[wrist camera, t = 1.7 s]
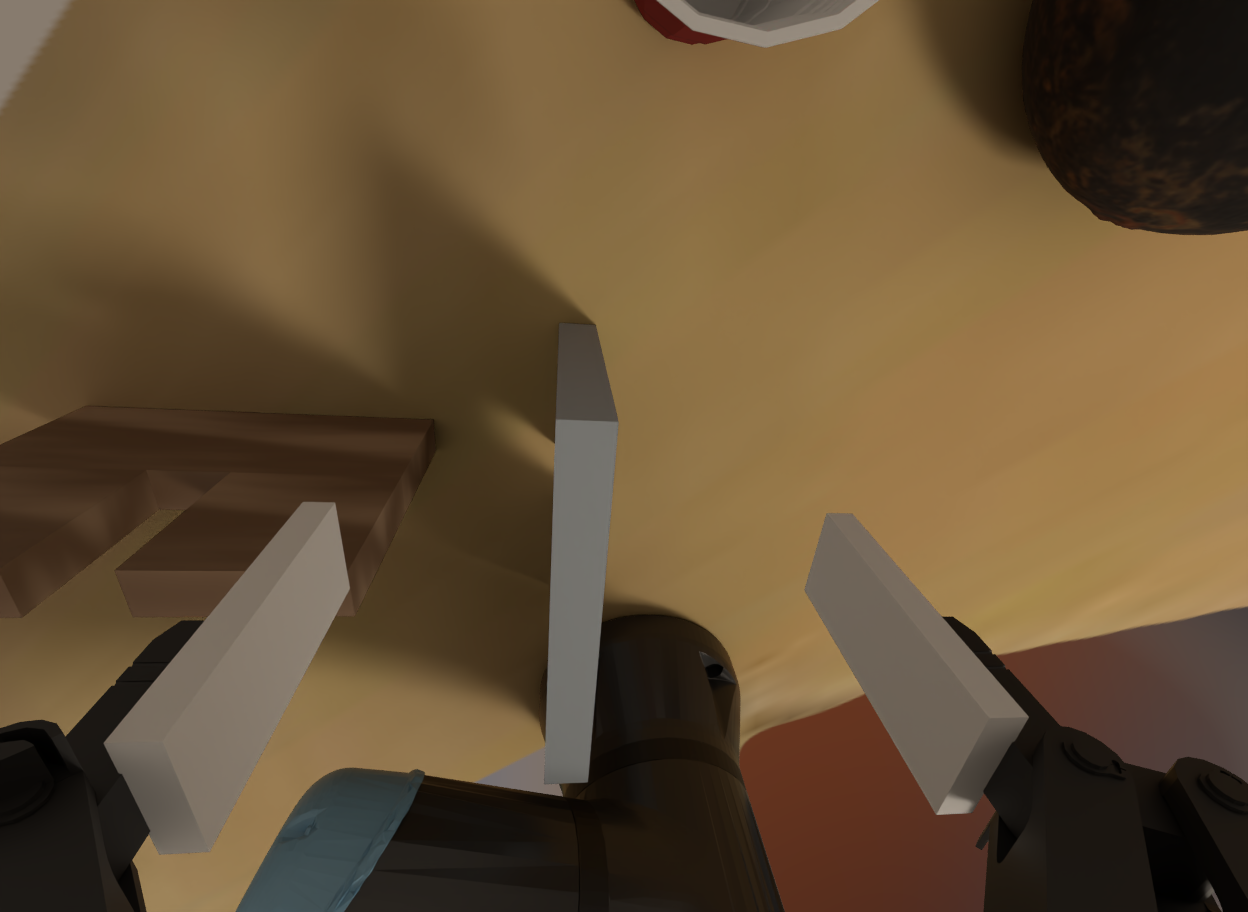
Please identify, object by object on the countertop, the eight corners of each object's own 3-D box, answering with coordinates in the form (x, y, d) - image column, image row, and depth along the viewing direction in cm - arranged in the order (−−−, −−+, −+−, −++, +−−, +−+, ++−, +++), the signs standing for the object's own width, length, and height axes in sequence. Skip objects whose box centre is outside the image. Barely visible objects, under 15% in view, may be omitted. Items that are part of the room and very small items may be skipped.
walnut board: (435, 450, 32) (354, 616, 20) (97, 440, 30) (-234, 618, 18) (433, 419, 31) (347, 571, 19) (85, 406, 29) (-273, 568, 17)
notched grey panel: (579, 585, 38) (587, 782, 25) (550, 585, 38) (544, 784, 25) (595, 325, 30) (618, 422, 18) (559, 322, 30) (555, 419, 17)
